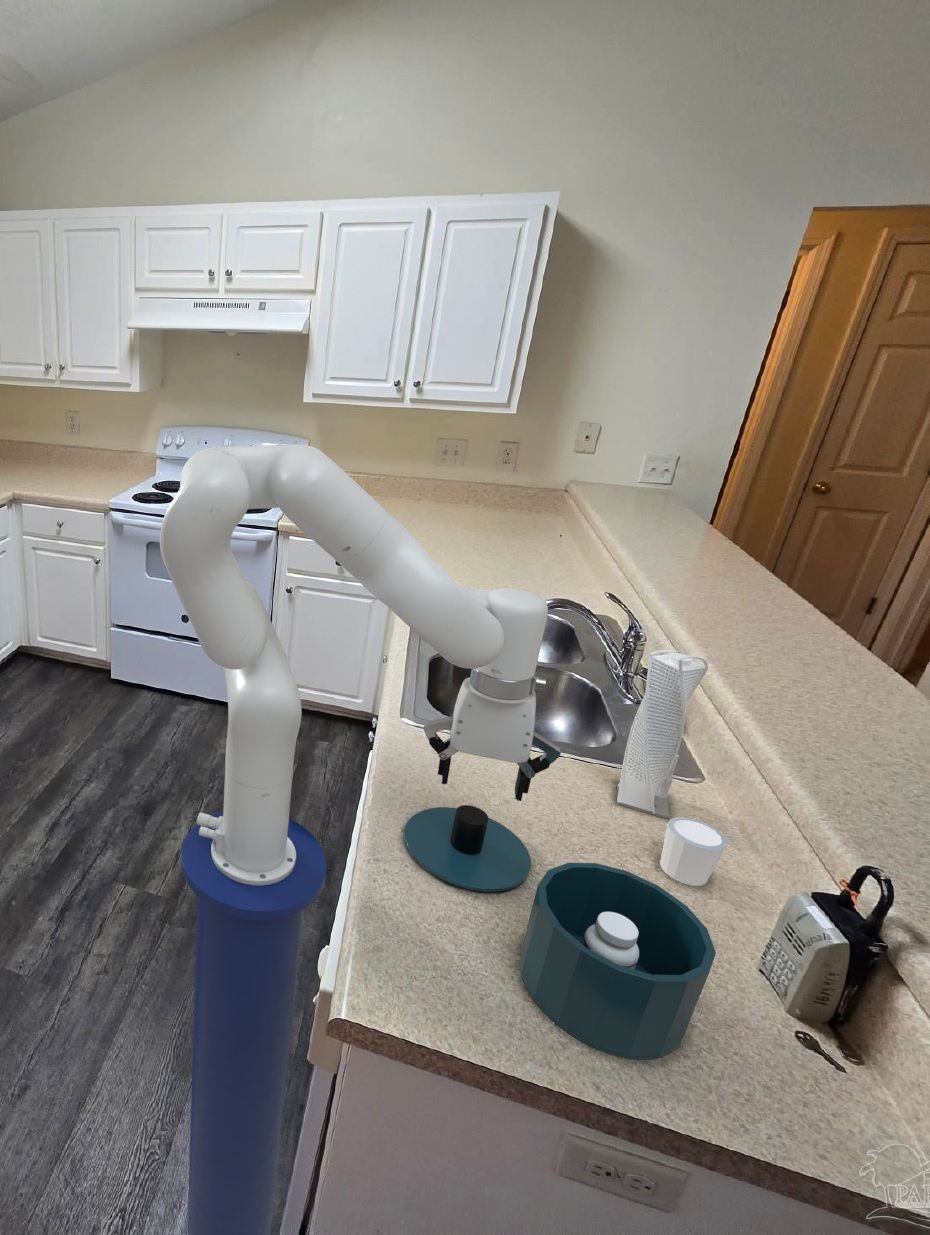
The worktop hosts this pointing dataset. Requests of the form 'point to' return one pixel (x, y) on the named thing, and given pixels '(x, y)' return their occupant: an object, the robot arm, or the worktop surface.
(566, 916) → the pot
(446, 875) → the lid
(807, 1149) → the worktop surface
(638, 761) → the skyscraper
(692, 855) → the white cylinder
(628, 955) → the pill bottle
